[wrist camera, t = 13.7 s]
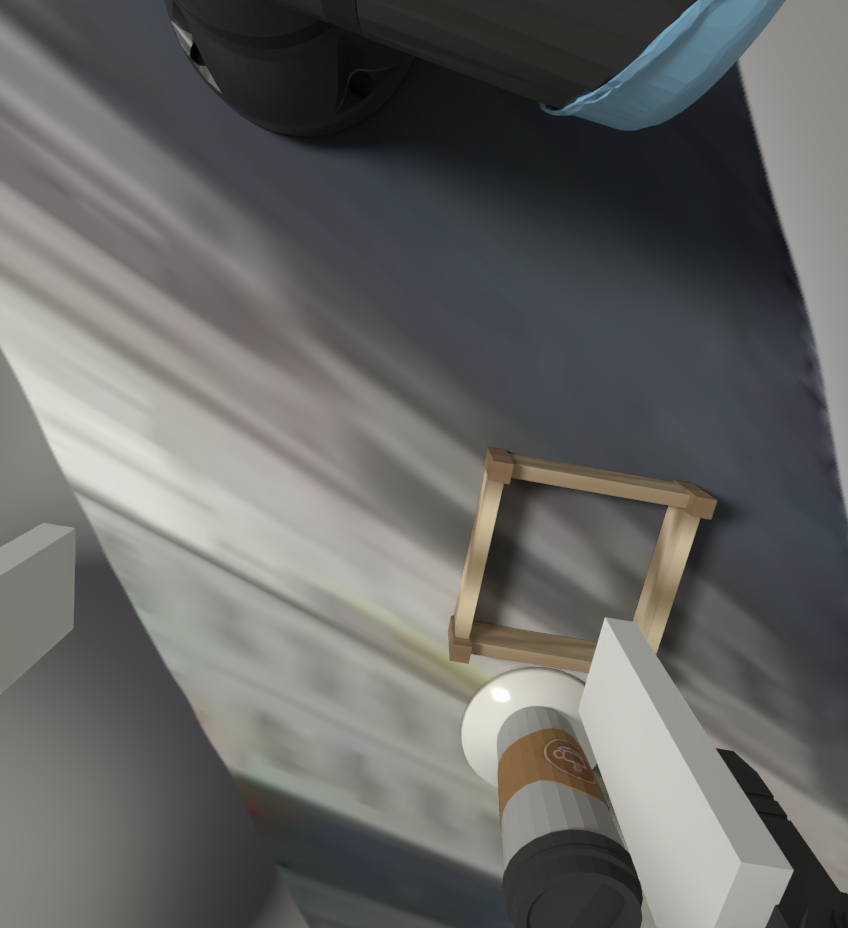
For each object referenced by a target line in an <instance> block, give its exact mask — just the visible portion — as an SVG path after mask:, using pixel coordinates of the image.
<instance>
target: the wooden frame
mask: <svg viewBox="0 0 848 928" xmlns="http://www.w3.org/2000/svg"><path fill="white" fill-rule="evenodd" d="M484 467H485V474H484V479H483V484H482V488H481V493H480V498H479V502H478V507H477V512H476V516H475V521H474V526H473V530H472V535H471V540H470V544H469V549H468V553H467V558H466V563H465V567H464V572H463V577H462V581H461V586H460V591H459V595H458V600H457V605H456V609H455V614H454V616H451V621H450V625H449V630H448V636H449V655H450V661H455V662H462V663H468V664H469V659H470V655H471V654H475V655H481V656H487V657H493V658H499V659H505V660H511V661H517V662H523V663H529V664H535V665H542V666H548V667H554V668H560V669H566V670H572V671H578V672H584V673H589V671H590V667H591V664H592V660H593V657H594V654H595V650H596V647H597V643H598V642H593V641H587V640H581V639H575V638H569V637H563V636H557V635H551V634H545V633H539V632H533V631H527V630H521V629H515V628H509V627H503V626H497V625H491V624H485V623H479V622H473V618H474V614H475V609H476V605H477V600H478V596H479V591H480V587H481V582H482V578H483V574H484V569H485V565H486V560H487V556H488V551H489V547H490V543H491V538H492V534H493V529H494V525H495V520H496V516H497V511H498V507H499V503H500V498H501V494H502V489H503V485H504V483H505V484H510V480H511V478H515V479H521V480H527V481H533V482H538V483H544V484H550V485H555V486H561V487H567V488H572V489H578V490H584V491H589V492H595V493H601V494H606V495H612V496H618V497H624V498H629V499H635V500H641V501H646V502H652V503H658V504H663V505H668V508H667V512H666V515H665V518H664V522H663V525H662V528H661V531H660V535H659V538H658V541H657V544H656V548H655V551H654V554H653V557H652V561H651V564H650V567H649V570H648V574H647V577H646V580H645V583H644V587H643V590H642V593H641V597H640V600H639V603H638V606H637V610H636V613H635V616H634V619H633V622H635V623H636V625H637V626H638V628H639V629H640V631H641V633H642V634H643V636H644V637H645V639H646V640H647V642H648V643H649V645H650V647H651V648H652V650H653V651H654V653H655V654H657V651H658V647H659V644H660V641H661V638H662V635H663V632H664V629H665V626H666V623H667V620H668V617H669V613H670V610H671V607H672V604H673V601H674V598H675V595H676V592H677V589H678V586H679V583H680V580H681V576H682V573H683V570H684V567H685V564H686V561H687V558H688V555H689V552H690V549H691V546H692V543H693V539H694V536H695V533H696V530H697V527H698V524H699V521H700V518H704V519H710V520H711V519H712V516H713V512H714V509H715V506H716V503H717V500H716V499H715V498H713V497H712V496H710V495H709V494H707V493H706V492H704V491H703V490H701V489H700V488H699V487H697V486H696V485H694V484H693V483H689V482H684V481H678V480H673V482H669V481H663V480H657V479H652V478H646V477H641V476H635V475H629V474H624V473H618V472H612V471H607V470H601V469H595V468H590V467H584V466H578V465H573V464H567V463H562V462H556V461H550V460H545V459H539V458H533V457H528V456H522V455H516V454H511V453H508V452H507V450H504V449H498V448H492V447H488V448H487V452H486V457H485V462H484Z"/></svg>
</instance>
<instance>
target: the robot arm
mask: <svg viewBox="0 0 848 928" xmlns="http://www.w3.org/2000/svg"><path fill="white" fill-rule="evenodd" d="M785 1H786V0H165V4H166V8H167V12H168V15H169V18H170V21H171V24H172V27H173V29H174V32H175V34H176V36H177V39H178V41H179V43H180V45H181V47H182V49H183V51H184V52H185V54H186V56H187V57H188V59H189V61H190V62H191V64H192V65H193V67H194V68H195V70H196V71H197V73H198V74H199V75H200V76H201V78H202V79H203V80H204V81H205V82H206V84H207V85H208V86H209V87H210V88H211V89H212V90H213V91H214V92H215V93H216V94H217V95H218V96H219V97H220V98H221V99H222V100H223V101H224V102H225V103H226V104H227V105H229V106H230V107H231V108H232V109H233V110H235V111H236V112H237V113H238V114H240V115H241V116H243V117H244V118H246V119H247V120H249V121H251V122H252V123H254V124H256V125H258V126H260V127H263V128H265V129H268V130H270V131H273V132H276V133H280V134H284V135H290V136H298V137H316V136H324V135H330V134H334V133H337V132H340V131H343V130H346V129H348V128H351V127H353V126H355V125H357V124H359V123H360V122H362V121H364V120H365V119H367V118H368V117H370V116H371V115H372V114H374V113H375V112H376V111H377V110H379V109H380V108H381V107H382V106H383V105H384V104H385V103H386V102H387V101H388V100H389V99H390V97H391V96H392V95H393V94H394V93H395V91H396V90H397V89H398V87H399V86H400V84H401V83H402V81H403V80H404V78H405V76H406V75H407V73H408V71H409V69H410V67H411V65H412V63H413V60H414V58H415V56H416V57H418V58H421V59H424V60H426V61H429V62H432V63H434V64H437V65H440V66H442V67H445V68H448V69H450V70H453V71H456V72H459V73H461V74H464V75H467V76H469V77H472V78H475V79H477V80H480V81H483V82H485V83H488V84H491V85H493V86H496V87H499V88H501V89H504V90H507V91H509V92H512V93H515V94H517V95H520V96H523V97H525V98H528V99H531V100H534V101H536V102H539V106H540V108H541V109H542V110H543V111H545V112H546V113H549V114H551V115H556V116H559V115H563V116H569V115H574V116H577V117H580V118H583V119H586V120H590V121H593V122H596V123H599V124H602V125H605V126H608V127H612V128H615V129H619V130H625V131H634V130H639V129H641V128H647V127H649V126H655V125H659V124H661V123H663V122H665V121H668V120H669V119H671V118H672V117H674V116H676V115H677V114H679V113H681V112H682V111H684V110H685V109H686V108H687V107H689V106H690V105H691V104H693V103H694V102H695V101H696V100H698V99H699V98H700V97H701V96H702V95H703V94H704V93H706V92H707V91H708V90H709V89H710V88H711V87H712V86H713V85H714V84H715V83H716V82H717V81H718V80H719V79H720V78H721V77H722V76H723V75H724V74H725V73H726V72H727V71H728V70H729V69H730V68H731V67H732V66H733V64H734V63H735V62H736V61H737V60H738V59H739V58H740V57H741V55H742V54H743V53H744V52H745V51H746V50H747V48H748V47H749V46H750V45H751V44H752V43H753V42H754V40H755V39H756V38H757V37H758V35H759V34H760V33H761V32H762V30H763V29H764V28H765V27H766V25H767V24H768V23H769V22H770V20H771V19H772V18H773V17H774V15H775V14H776V13H777V11H778V10H779V9H780V7H781V6H782V5H783V3H784V2H785ZM75 533H76V528H71V527H65V526H59V525H53V524H47V523H43V524H41V525H39V526H37V527H36V528H34V529H32V530H30V531H29V532H27V533H25V534H23V535H21V536H20V537H18V538H16V539H14V540H13V541H11V542H9V543H7V544H5V545H4V546H2V547H0V694H2V693H3V692H4V691H5V690H6V689H7V688H8V687H9V686H10V685H11V684H13V683H14V682H15V681H16V680H17V679H18V678H19V677H20V676H21V675H22V674H24V672H26V671H27V670H28V669H29V668H30V667H31V666H32V665H33V664H35V663H36V662H37V661H38V660H39V659H40V658H41V657H42V656H43V655H45V654H46V652H48V651H49V650H50V649H51V648H52V647H53V646H54V645H55V644H56V643H58V642H59V641H60V640H61V639H62V638H63V637H64V636H65V635H67V634H68V633H69V632H70V631H71V630H72V629H73V623H74V622H73V621H74V578H75V575H74V574H75ZM578 712H579V714H580V717H581V720H582V723H583V725H584V728H585V731H586V734H587V736H588V739H589V742H590V745H591V747H592V750H593V753H594V756H595V759H596V761H597V764H598V767H599V770H600V772H601V775H602V778H603V781H604V783H605V786H606V789H607V792H608V794H609V797H610V800H611V803H612V805H613V808H614V811H615V814H616V817H617V819H618V822H619V825H620V828H621V830H622V833H623V836H624V839H625V841H626V844H627V847H628V850H629V852H630V855H631V858H632V861H633V863H634V866H635V869H636V872H637V875H638V877H639V880H640V883H641V886H642V888H643V891H644V894H645V897H646V899H647V902H648V905H649V908H650V910H651V913H652V916H653V919H654V921H655V924H656V927H657V928H848V894H847V893H843V892H840V891H839V890H838V888H837V887H836V885H835V884H834V882H833V881H832V879H831V878H830V877H829V875H828V874H827V872H826V871H825V869H824V868H823V867H822V865H821V864H820V862H819V861H818V859H817V858H816V856H815V855H814V854H813V852H812V851H811V849H810V848H809V846H808V845H807V844H806V842H805V841H804V839H803V838H802V836H801V835H800V833H799V832H798V831H797V829H796V828H795V826H794V825H793V823H792V822H791V821H788V820H787V815H786V813H785V812H784V810H783V809H782V808H781V806H780V805H779V803H778V802H777V801H774V798H773V797H774V796H773V795H772V793H771V792H770V790H769V789H768V787H767V786H766V785H765V783H764V782H763V780H762V779H761V777H760V776H759V775H758V773H757V772H756V771H755V770H754V769H752V768H751V767H750V766H749V765H748V764H747V763H746V762H745V761H744V760H743V759H741V758H740V757H739V756H738V755H737V754H736V753H735V752H734V751H729V750H723V749H717V748H715V747H714V745H713V743H712V742H711V740H710V739H709V737H708V736H707V734H706V732H705V731H704V729H703V728H702V726H701V725H700V723H699V722H698V720H697V718H696V717H695V715H694V714H693V712H692V711H691V709H690V707H689V706H688V704H687V703H686V701H685V700H684V698H683V697H682V695H681V693H680V692H679V690H678V689H677V687H676V686H675V684H674V683H673V681H672V679H671V678H670V676H669V675H668V673H667V672H666V670H665V668H664V667H663V665H662V664H661V662H660V661H659V659H658V658H657V656H656V654H655V653H654V651H653V650H652V648H651V647H650V645H649V643H648V642H647V640H646V639H645V637H644V636H643V634H642V633H641V631H640V629H639V628H638V626H637V625H636V623H635V622H630V621H624V620H618V619H612V618H606V617H605V619H604V623H603V626H602V630H601V633H600V636H599V640H598V643H597V647H596V650H595V654H594V657H593V660H592V664H591V667H590V671H589V674H588V677H587V681H586V684H585V688H584V691H583V695H582V698H581V701H580V705H579V708H578Z"/></svg>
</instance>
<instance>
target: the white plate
mask: <svg viewBox="0 0 848 928" xmlns="http://www.w3.org/2000/svg"><path fill="white" fill-rule="evenodd" d="M584 688H585V684H584V683H583V682H582V681H580V680H579V679H577V678H576V677H574V676H572V675H570V674H568V673H566V672H563V671H560V670H556V669H552V668H545V667H527V668H519V669H515V670H511V671H508V672H506V673H503V674H501V675H499V676H497V677H495V678H493V679H492V680H490V681H489V682H487V683H486V684H485V685H483V686H482V687H481V688H480V689H479V690H478V691H477V692H476V693H475V694H474V696H473V697H472V698H471V700H470V701H469V703H468V705H467V707H466V709H465V712H464V715H463V718H462V725H461V736H462V745H463V750H464V753H465V756H466V758H467V760H468V762H469V764H470V765H471V767H472V768H473V770H474V771H475V772H476V773H477V774H478V775H479V776H480V777H481V778H482V779H484V780H485V781H486V782H488V783H489V784H491V785H493V786H495V787H497V788H498V776H497V772H498V758H497V735H498V733H499V730H500V728H501V726H502V725H503V723H504V721H505V720H506V719H507V718H508V717H509V716H510V715H511V714H512V713H514V712H515V711H517V710H519V709H522V708H524V707H530V706H543V707H547V708H550V709H553V710H554V711H556V712H558V713H559V714H560V715H562V716H564V717H565V718H566V719H567V720H568V721H569V723H570V724H571V726H572V728H573V730H574V732H575V734H576V737H577V739H578V741H579V744H580V746H581V747H582V749H583V751H584V753H585V755H586V757H587V760H588V762H589V764H590V766H591V769H593V768H594V767H595V766H596V764H597V761H596V759H595V756H594V753H593V750H592V747H591V745H590V742H589V739H588V736H587V734H586V731H585V728H584V725H583V723H582V720H581V717H580V714H579V712H578V708H579V705H580V701H581V698H582V695H583V691H584Z"/></svg>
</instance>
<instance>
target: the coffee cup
mask: <svg viewBox="0 0 848 928" xmlns="http://www.w3.org/2000/svg"><path fill="white" fill-rule="evenodd" d="M497 758H498V772H497V776H498V794H499V811H500V825H501V830H502V839H503V856H504V876H503V884H502V888H503V893H504V897H505V901H506V904H507V909H508V913H509V918H510V920H511V921H512V923H513V925H514V926H515V928H640V927H641V922H642V913H641V905H642V900H643V897H642V890H641V884H640V881H639V879H638V875H637V872H636V869H635V866H634V863H633V861H632V858H631V855H630V854H629V853H628V852H627V851H626V850H625V847H624V845H623V843H622V841H621V838H620V836H619V834H618V831H617V829H616V827H615V824H614V822H613V820H612V817H611V815H610V813H609V807H608V805H607V803H606V801H605V798H604V796H603V794H602V792H601V789H600V787H599V785H598V782H597V780H596V778H595V776H594V773H593V771H592V769H591V766H590V764H589V762H588V760H587V757H586V755H585V753H584V751H583V749H582V747H581V746H580V744H579V741H578V739H577V737H576V734H575V732H574V730H573V728H572V726H571V724H570V723H569V721H568V720H567V719H566V718H565V717H564V716H562V715H560V714H559V713H558V712H556V711H554V710H553V709H550V708H547V707H543V706H530V707H524V708H522V709H519V710H517V711H515V712H514V713H512V714H511V715H510V716H509V717H508V718H507V719H506V720H505V721H504V723H503V725H502V726H501V728H500V730H499V733H498V735H497Z"/></svg>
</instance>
